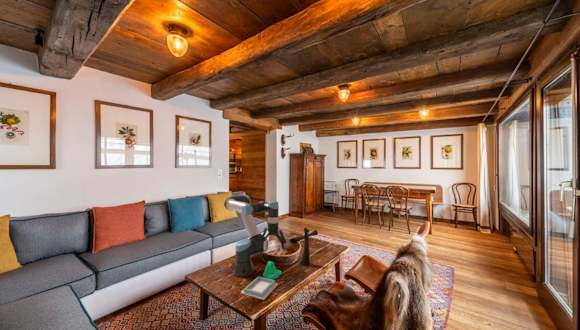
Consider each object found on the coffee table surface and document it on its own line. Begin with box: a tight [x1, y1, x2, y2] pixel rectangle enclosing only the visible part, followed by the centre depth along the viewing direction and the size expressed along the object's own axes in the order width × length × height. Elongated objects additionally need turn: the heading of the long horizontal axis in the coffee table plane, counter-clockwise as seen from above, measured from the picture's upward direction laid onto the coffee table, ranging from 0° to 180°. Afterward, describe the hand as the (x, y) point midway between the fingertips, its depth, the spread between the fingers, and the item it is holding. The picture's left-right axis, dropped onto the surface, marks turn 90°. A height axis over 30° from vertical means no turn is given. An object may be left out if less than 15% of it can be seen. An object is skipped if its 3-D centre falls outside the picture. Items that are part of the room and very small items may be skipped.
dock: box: [240, 275, 279, 301], centre depth 149 cm, size 17×18×3 cm
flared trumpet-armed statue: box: [289, 227, 319, 267], centre depth 185 cm, size 31×10×30 cm, turn 135°
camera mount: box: [262, 260, 282, 280], centre depth 166 cm, size 12×8×10 cm, turn 138°
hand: (273, 251), depth 166 cm, fingers open, 13 cm apart
